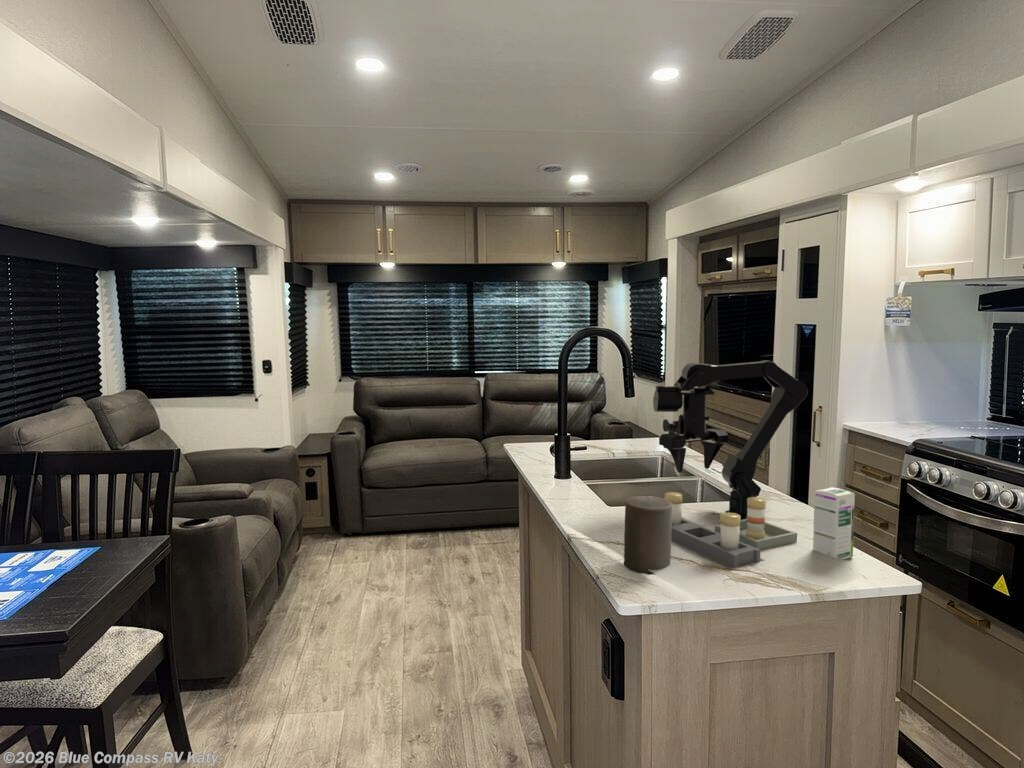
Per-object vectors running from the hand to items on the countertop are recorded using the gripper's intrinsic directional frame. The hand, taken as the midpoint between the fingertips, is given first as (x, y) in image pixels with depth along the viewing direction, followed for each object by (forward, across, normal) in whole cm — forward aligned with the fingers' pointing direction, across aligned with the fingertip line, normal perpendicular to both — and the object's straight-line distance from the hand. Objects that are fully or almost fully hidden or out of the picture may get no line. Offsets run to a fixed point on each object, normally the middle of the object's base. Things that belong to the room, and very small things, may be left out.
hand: (693, 470), depth 164 cm
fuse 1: (+11, +15, +10) cm, 21 cm away
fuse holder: (+12, +15, +19) cm, 27 cm away
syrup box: (+12, -7, +36) cm, 39 cm away
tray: (+12, +1, +22) cm, 25 cm away
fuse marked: (+11, +1, +22) cm, 25 cm away
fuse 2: (+11, +15, +28) cm, 34 cm away
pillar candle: (+12, +32, +22) cm, 41 cm away
